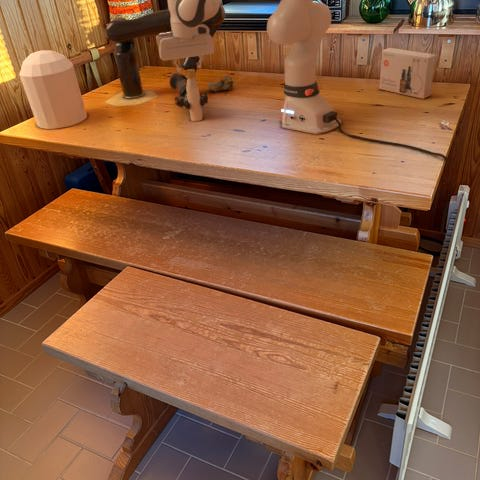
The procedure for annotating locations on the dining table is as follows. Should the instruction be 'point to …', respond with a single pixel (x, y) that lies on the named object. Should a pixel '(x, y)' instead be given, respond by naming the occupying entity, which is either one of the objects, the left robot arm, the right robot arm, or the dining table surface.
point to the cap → (190, 73)
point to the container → (52, 90)
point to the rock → (221, 84)
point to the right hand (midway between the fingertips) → (189, 69)
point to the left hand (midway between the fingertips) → (195, 105)
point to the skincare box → (407, 72)
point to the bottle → (194, 100)
